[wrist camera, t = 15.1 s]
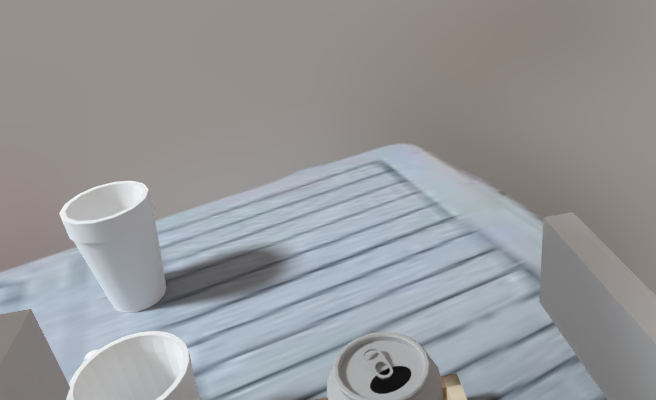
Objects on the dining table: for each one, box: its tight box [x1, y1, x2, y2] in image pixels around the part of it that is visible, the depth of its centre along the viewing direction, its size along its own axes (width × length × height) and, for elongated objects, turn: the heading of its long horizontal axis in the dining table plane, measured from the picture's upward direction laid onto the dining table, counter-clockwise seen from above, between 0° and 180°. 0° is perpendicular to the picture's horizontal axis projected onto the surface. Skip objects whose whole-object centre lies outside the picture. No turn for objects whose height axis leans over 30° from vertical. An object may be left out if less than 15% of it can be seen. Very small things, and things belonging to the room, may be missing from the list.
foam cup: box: [59, 181, 167, 313], centre depth 65 cm, size 10×9×13 cm
